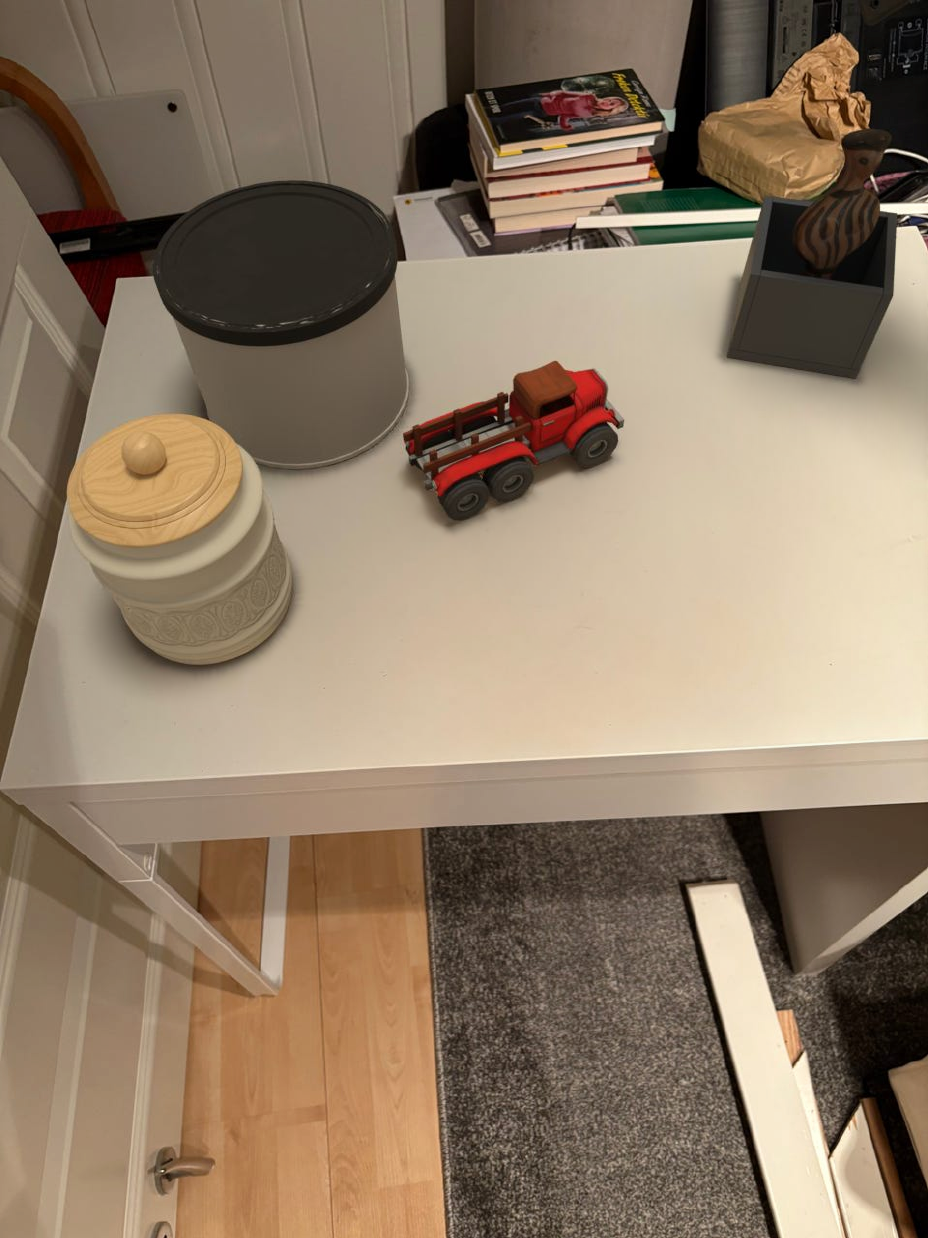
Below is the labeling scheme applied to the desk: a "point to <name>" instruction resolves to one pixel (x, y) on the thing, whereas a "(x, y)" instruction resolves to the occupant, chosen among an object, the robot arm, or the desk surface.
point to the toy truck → (514, 437)
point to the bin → (811, 297)
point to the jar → (181, 537)
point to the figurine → (842, 208)
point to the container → (289, 318)
